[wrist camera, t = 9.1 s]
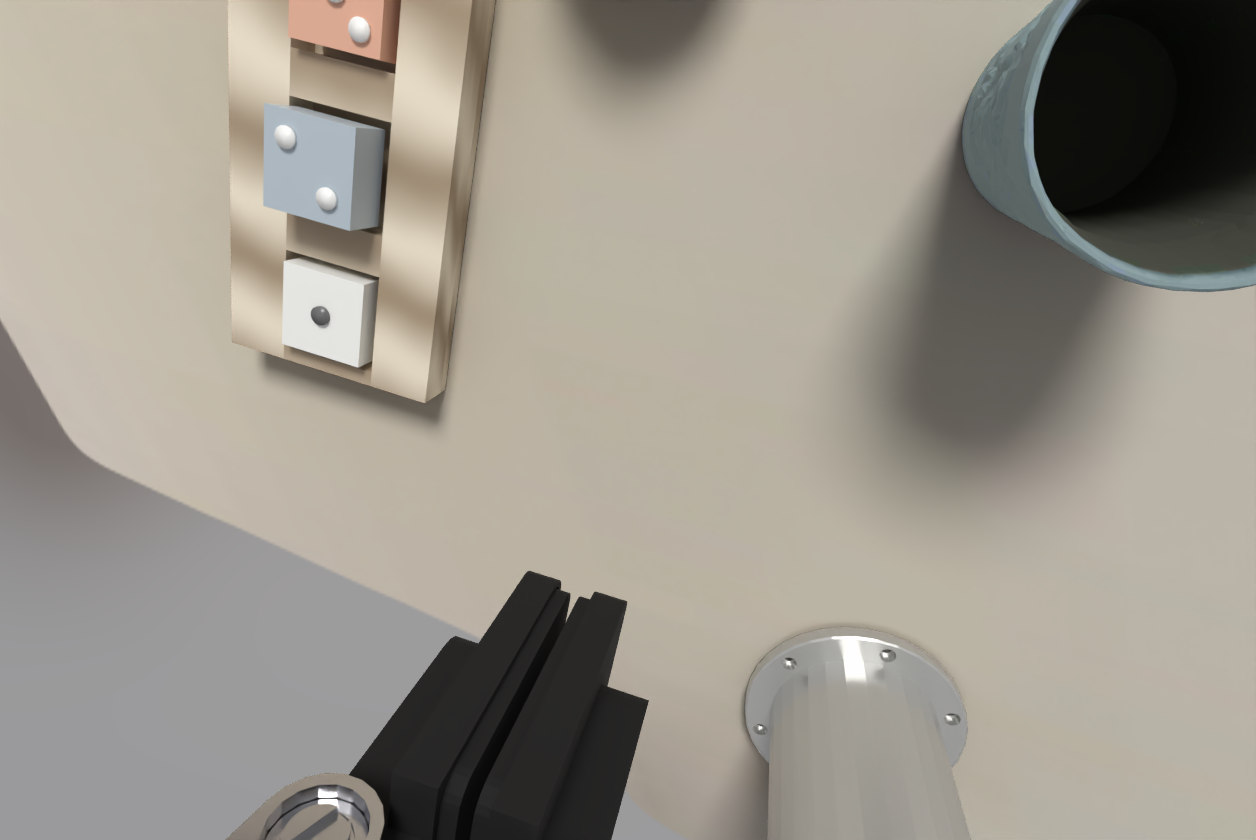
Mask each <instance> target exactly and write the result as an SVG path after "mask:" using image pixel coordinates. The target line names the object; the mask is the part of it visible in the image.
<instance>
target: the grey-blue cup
mask: <svg viewBox="0 0 1256 840" xmlns="http://www.w3.org/2000/svg"><path fill="white" fill-rule="evenodd" d="M962 148H963V156H964V161H965V164H966V168H967V170H968V173H969V176H970V178H971V180H972V182H973V183H974V185H975V187H976V188H977V190H978V192H979V193H980V194H981V195H982V196H983V197H984V198H985V199H986V200H987V201H988V202H989V203H990V204H991V205H992V206H993V207H994V208H995V209H997V210H998V211H1000V212H1002V213H1003V214H1005V215H1007V216H1008V217H1010V218H1011V219H1013V220H1016V221H1018V222H1020V223H1022V224H1024V225H1026V226H1027V227H1028V228H1030V229H1032V230H1034V231H1036V232H1037V233H1039V234H1041V235H1043V236H1045V237H1047V238H1049V239H1051V240H1053V241H1055V242H1056V243H1058V244H1059V245H1061V246H1062V247H1064V248H1065V249H1067V250H1068V251H1070V252H1072V253H1073V254H1075V255H1076V256H1078V257H1080V258H1081V259H1083V260H1085V261H1086V262H1088V263H1090V264H1091V265H1093V266H1095V267H1097V268H1098V269H1100V270H1102V271H1104V272H1105V273H1108V274H1111V275H1113V276H1116V277H1118V278H1121V279H1123V280H1126V281H1129V282H1133V283H1137V284H1140V285H1145V286H1150V287H1156V288H1162V289H1167V290H1173V291H1195V292H1214V291H1225V290H1234V289H1239V288H1244V287H1249V286H1253V285H1256V0H1053V1H1052V2H1051V3H1050V4H1048V5H1047V6H1046V7H1045V8H1044V10H1043V11H1042V12H1041V13H1040V14H1039V15H1038V16H1037V17H1036V18H1034V19H1033V20H1032V21H1031V22H1030V23H1028V24H1027V25H1026V26H1025V27H1024V28H1022V29H1021V30H1020V31H1019V32H1018V33H1017V34H1016V35H1014V36H1013V37H1012V38H1011V39H1010V40H1009V41H1008V42H1007V43H1006V44H1005V45H1004V46H1003V47H1002V48H1001V49H1000V50H999V52H998V53H997V54H996V55H995V56H994V57H993V58H992V59H991V61H990V62H989V64H988V65H987V67H986V68H985V70H984V71H983V73H982V74H981V76H980V78H979V79H978V81H977V83H976V85H975V87H974V89H973V92H972V94H971V96H970V98H969V102H968V105H967V109H966V112H965V116H964V122H963V129H962Z"/></svg>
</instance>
